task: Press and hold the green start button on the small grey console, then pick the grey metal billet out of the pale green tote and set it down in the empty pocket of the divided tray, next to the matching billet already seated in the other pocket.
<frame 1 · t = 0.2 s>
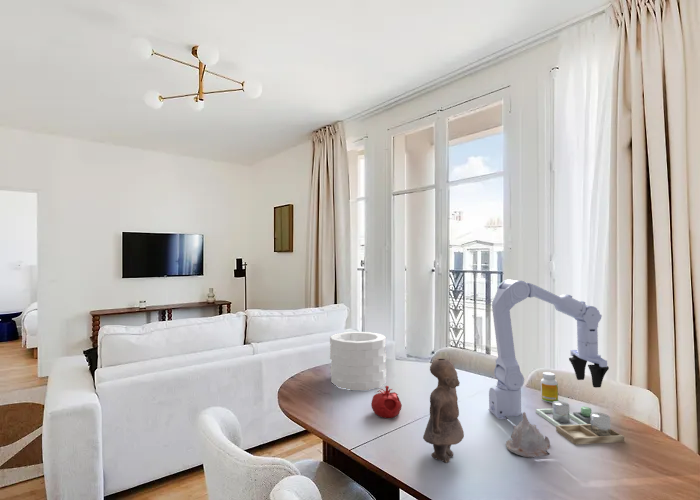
hand: (588, 383, 124), 10 cm above the table, tool pointing down, fingers open, 7 cm apart
tote: (561, 423, 117), on the table
clay figurine: (443, 457, 98), on the table
billet: (561, 421, 117), resting on tote
seashell: (529, 449, 102), on the table
basket: (358, 381, 161), on the table
supplement bottle: (549, 401, 136), on the table
pomegranate: (386, 415, 125), on the table
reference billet: (600, 435, 107), point 1 cm above the table, touching divided tray
start button: (586, 411, 117), point 4 cm above the table, slide at 0.0 cm
divided tray: (589, 439, 106), on the table
console: (586, 423, 117), on the table
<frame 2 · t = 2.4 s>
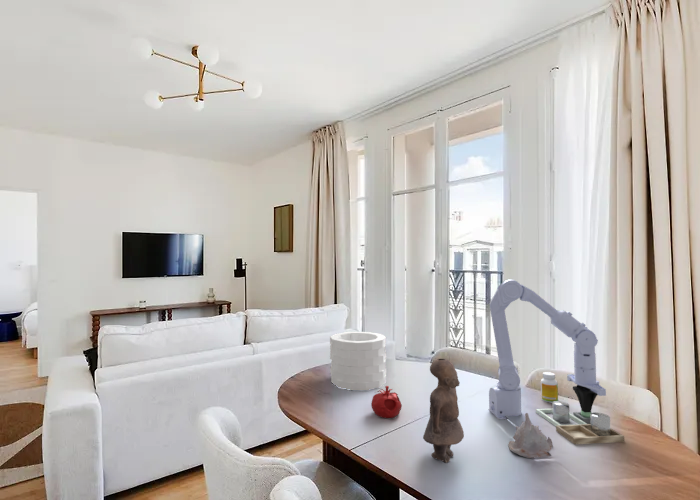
hand: (586, 411, 117), 4 cm above the table, tool pointing down, fingers closed, pressing on start button
start button: (586, 414, 117), point 3 cm above the table, slide at 0.9 cm, touching gripper
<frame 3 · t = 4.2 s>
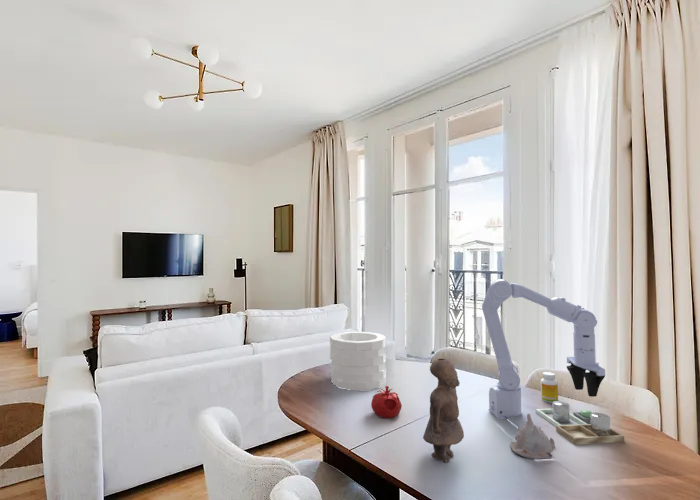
hand: (585, 392, 117), 9 cm above the table, tool pointing down, fingers open, 5 cm apart
start button: (586, 414, 117), point 3 cm above the table, slide at 1.0 cm
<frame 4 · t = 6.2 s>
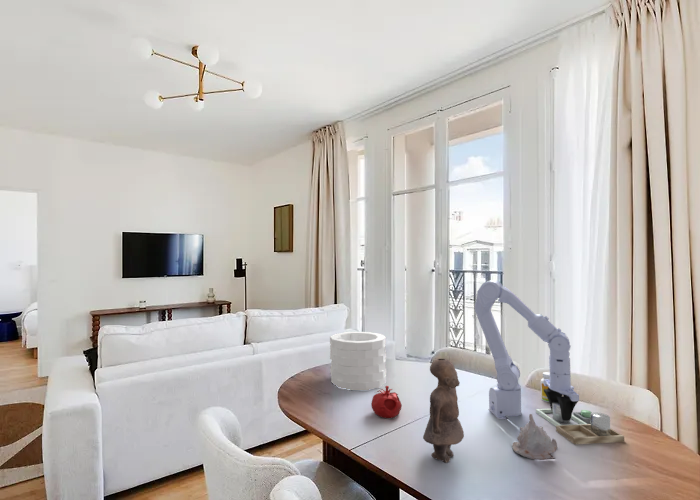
hand: (561, 416, 117), 2 cm above the table, tool pointing down, fingers closed on billet, 5 cm apart
billet: (561, 421, 117), resting on tote, touching gripper
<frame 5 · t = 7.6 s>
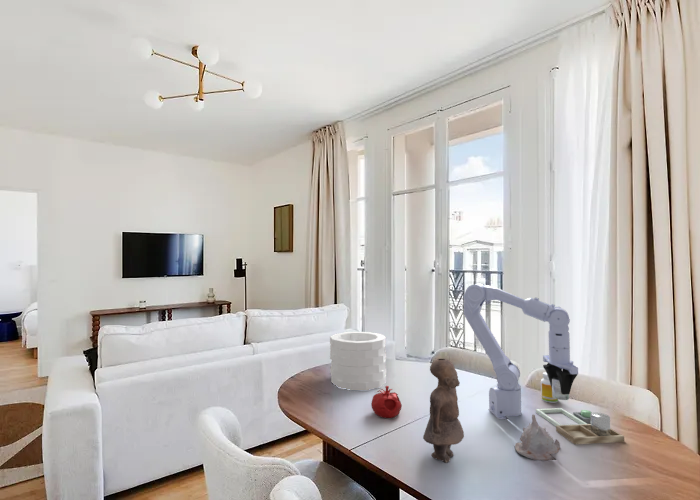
hand: (560, 391, 117), 10 cm above the table, tool pointing down, fingers closed on billet, 5 cm apart
billet: (560, 397, 117), point 8 cm above the table, touching gripper
when the fingers open (4 cm above the table, at t = 10.0 s): billet stays where it is, resting on divided tray.
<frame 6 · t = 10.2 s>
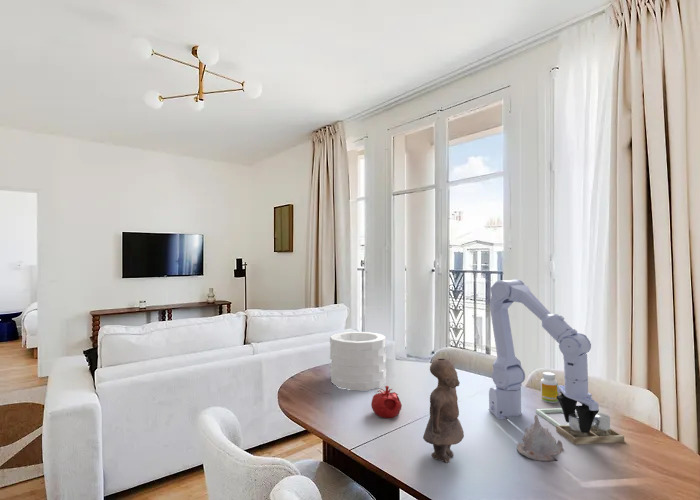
hand: (577, 426, 106), 4 cm above the table, tool pointing down, fingers open, 6 cm apart
billet: (578, 436, 106), point 1 cm above the table, touching divided tray
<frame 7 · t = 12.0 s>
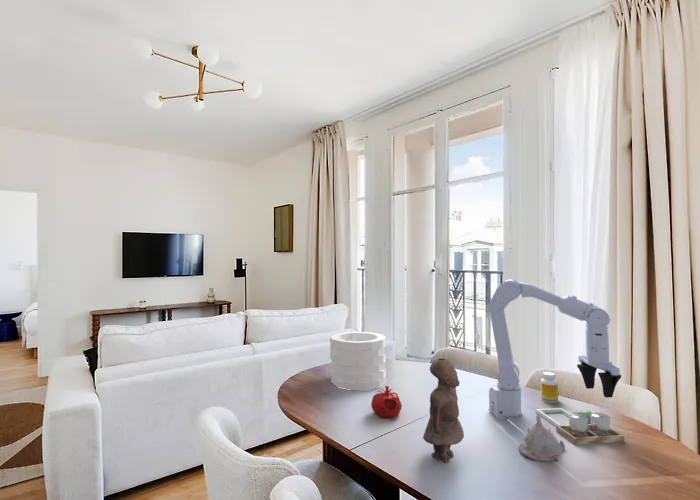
hand: (598, 392, 114), 10 cm above the table, tool pointing down, fingers open, 7 cm apart
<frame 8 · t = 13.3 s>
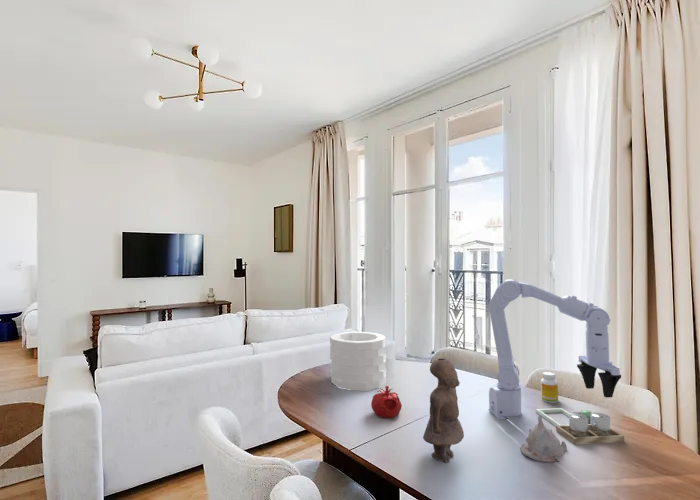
hand: (598, 392, 114), 10 cm above the table, tool pointing down, fingers open, 7 cm apart
at the end: billet 0.3 cm from the target spot on the divided tray, point 1.1 cm above the divided tray's base; billet tilted 2°; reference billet moved 0.0 cm from its start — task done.
